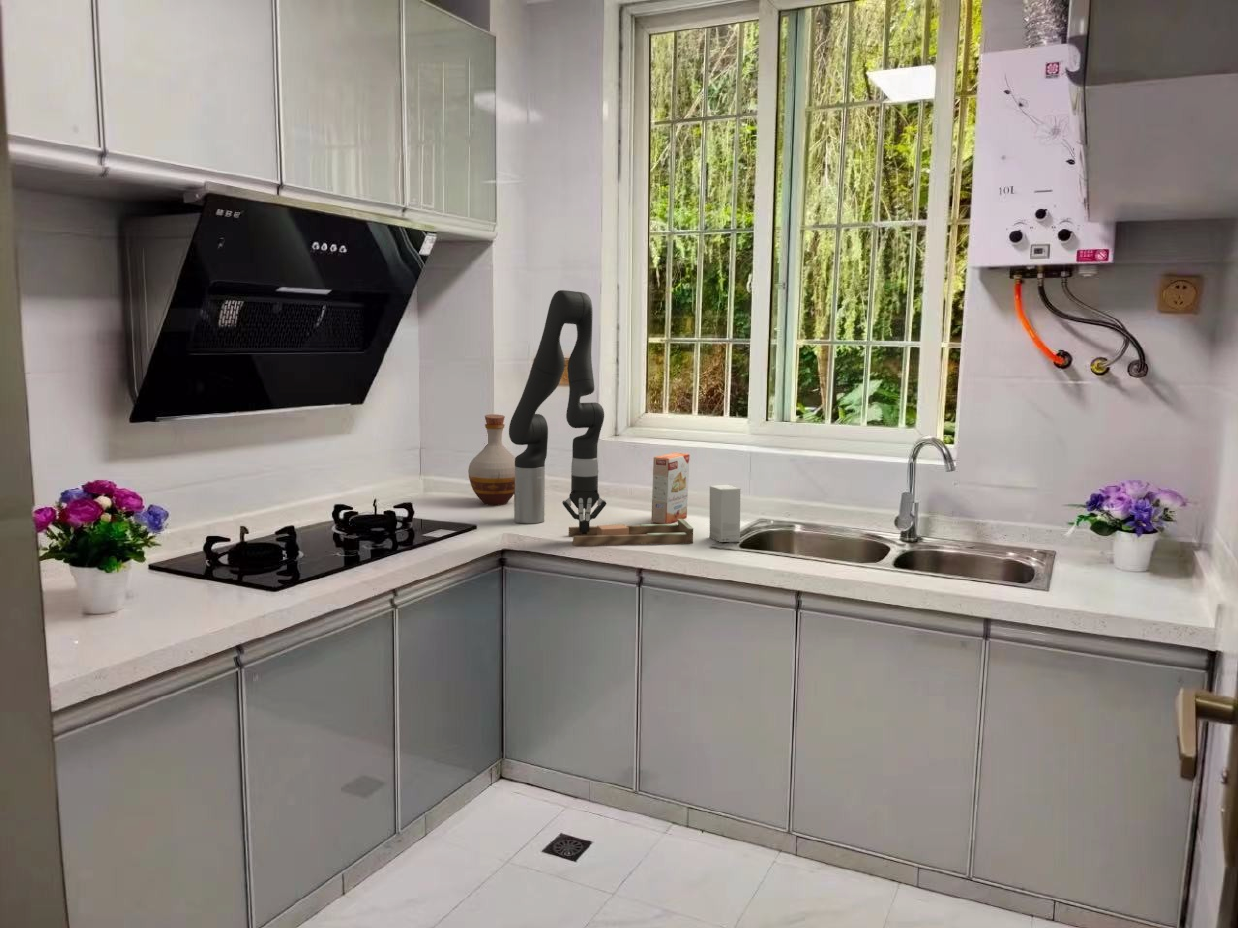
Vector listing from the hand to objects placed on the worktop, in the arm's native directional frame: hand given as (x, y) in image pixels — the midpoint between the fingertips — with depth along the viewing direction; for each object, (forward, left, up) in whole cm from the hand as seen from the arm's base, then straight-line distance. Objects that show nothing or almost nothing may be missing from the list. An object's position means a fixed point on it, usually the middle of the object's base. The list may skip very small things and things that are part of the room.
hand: (584, 533), depth 264 cm
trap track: (+13, 0, -2) cm, 13 cm away
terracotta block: (+8, 0, -2) cm, 9 cm away
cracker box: (+30, +24, -2) cm, 39 cm away
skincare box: (+40, -3, -2) cm, 41 cm away
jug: (-24, +57, -2) cm, 62 cm away
